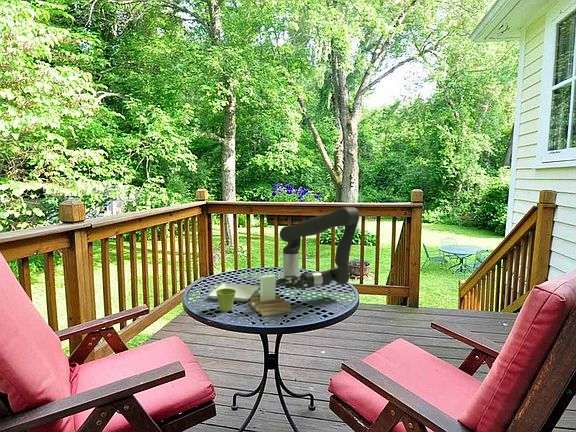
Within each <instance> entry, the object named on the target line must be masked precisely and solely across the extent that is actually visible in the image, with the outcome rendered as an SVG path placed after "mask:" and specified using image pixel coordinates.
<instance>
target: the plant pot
mask: <svg viewBox="0 0 576 432" xmlns="http://www.w3.org/2000/svg"><path fill="white" fill-rule="evenodd" d="M235 293H236V290H234V289H230V288H224V289H219V290H217V291H216V294H217V296H218V299H217V302H218V303H217V304H218V308H219V309H218V310H219V311H221V312H229V311H232V310H233V307H234V302H235V301H234V296H235Z"/></svg>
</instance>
